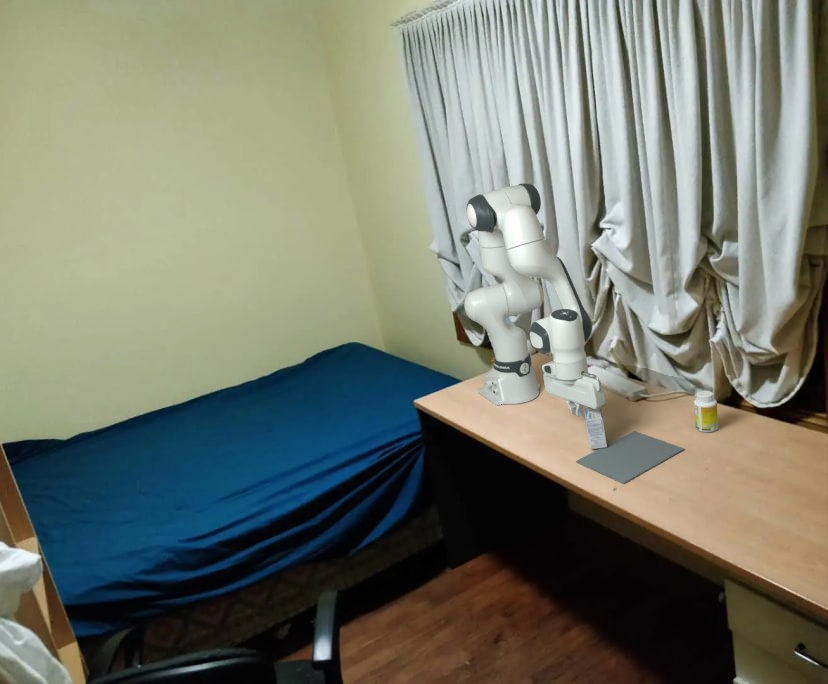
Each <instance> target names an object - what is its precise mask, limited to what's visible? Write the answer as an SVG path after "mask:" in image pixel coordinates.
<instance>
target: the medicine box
mask: <svg viewBox="0 0 828 684" xmlns="http://www.w3.org/2000/svg"><path fill="white" fill-rule="evenodd" d="M584 417H585V425H586V430H587V437H588V442H589V443H588V444H589V448H590V450H598V449H600V448H607V445H608V443H607V438H606V431H605V425H604V419H603V418H604V417H603V413H602V410H601V407H600V408H598V409H593V408H587V409H584Z"/></svg>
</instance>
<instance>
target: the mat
mask: <svg viewBox="0 0 828 684" xmlns="http://www.w3.org/2000/svg"><path fill="white" fill-rule="evenodd" d="M683 451H685V448H684V447H681V446H678V445H676V444H673V443H669V442H666V441H665V440H664V441H663V440H661V439H658V438H655V437H653V436H650V435H647V434H645V433H642V432H639V431H636V430H633V431H632V432H629V433H627V434H626V435H623V436H622V437H620V438H618V439H616V440H614V441H612V442H610V443H607V448H599V449H595V451H593V452H590V453H589V454H587V455H585V456H583V457H581V458H579V459H577V460H576V461H575V463H576V464H578V465H581V466H583V467H585V468H588V469H590V470H591V471H593V472H597V473H598V474H601V475H603V476H605V477H607V478H609V479H611V480H614V481H616V482H618V483H621V484H622V485H625V484H628V483H629V482H630V481H632V480H635V478H637V477H639V476H641V475H643V474H644V473H646V472H648V471H650V470H652V469H654V468H655V467H657V466H659V465H660V464H662V463H664V462H665V461H668V460H669V459H671V458H673V457H674V456H676V455H678V454H680V453H682V452H683Z"/></svg>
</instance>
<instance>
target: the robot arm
mask: <svg viewBox="0 0 828 684" xmlns="http://www.w3.org/2000/svg"><path fill="white" fill-rule="evenodd" d="M541 201H542V199H541V195H540V193H539V190H538V189H537V188H536V187H535V186H534V185H533V184H532V183H519V184H517V185H516V184H515V185H509V186H503V187H499V188H498V189H494V190H490V191H487V192H485V193H482V194H481V193H480V194H476V195H475V196H473V197H471V198H469V200H468V202H467V204H466V216H467V220H468V223H469V225H470V227H471V228H472V229H473V230H475V231H477V238H478V248H479V254H480V255H479V256H480V263H481V267H482V269H483V271H484V272H485V273H487V274H488V275H491V276H495V277H498V278H501V279H502V282H501V283H498V284H493V285H487V286H483V287H480V288H476V289H474V290H472V291H470V292H468V293H467V294H466V296H465V298H464V302H463V303H464V305H463V306H464V311H465V313H466V315H467V317H468V318H469V319H470V320H471V321H473V322H474V323H477V324H479V325H480V326H481V327H482V328H484V329H485V331H487V333H488V335H489V337H490V339H491V342H492V347H493V351H494V357H492V358H491V362H493V367H492V368H491V369H489V371H488V372H486V373H485V375H484V377H483V384H484V385H483V386H481V387H480V388H479V389H478V394H480V395H481V396H483V397H484V398H485V399H487V400H488V401H489V400H490V401H489V402H491V403H492V402H493V403H492V404H494V405H495V406H501V404H502V405H514V404H515V405H516V404H522V403H527V402H530V401H532V400H534V399H536V398H537V397H538V396H539V395H540V388H541V385H540V383H538V381H537V376H536V372H535V368H534V366H533V365H532V357H531V353H530V352H529V345H528V340H529V343H530V346H531V348H533V349H534V350H535V351H537V352H539V353H542V354H552V356H553V360H551V361H548V362H547V363H544V364H542V365H541V369H542V372H543V382H544V383H543V384H544V389H545V391H546V392H547V394H549V395H552V396H554V397H558V398H561V399H564V400H565V402H566V404H567V406H568V408H569V412H570V414H571V415H574V416H576V417H581V416H582V415H583V408H584V407H588V408H589V409H591V408H593V409H598V408H600V409H601V408H602V407H604V406H605V404H606V395H605V391H604V388H603V384H602V382H601V379H599V378H598V377H597V375H596V374H593V373H590V372H589V369H588V368H589V366H588V358H587V354H586V350H585V343H587V341H588V340H589V339H590V337H591V334H592V332H593V322H592V319H591V317H590V315H589V313H588V312H587V311H586V309H585V307H584V306H583V303H582V301H581V299H580V296H579V294H578V292H577V290H576V288H575V285H574V283H573V281H572V278H571V275H570V274H569V272H568V269H567V268H566V265H565V264H564V262H563V260H562V259H561V258H560V257H558V256H557V255H554V254H553V252H552V250H550V248H549V246H548V243H547V241H546V239H545V234H544V231H543V227H542V226H541V223H540V220H539V218H538V216H537V215H538V214H539V212H540V209H541V207H542V206H541V205H542V202H541ZM533 278H535V279H536V278H537V279H542V280H546V281H548V282H549V283H550V284H551V285H552V286H553V288H554V290H555V293H556V295H557V297H558V301H559V302H560V305H561V306H562V309H561V308H560V309H556V310H553V311H552V312H551V313H550V314H549V315H548V316H547V317H544V318H543V317H542V318H540V319H537V320H535V321H534V322H532V323H531V325H530V326H529V330H528V337H527V333H526V332H525V330H524V329H523V328H521V327H519V326H517V325H514V324H509V323H507V322H506V318H508V317H513V316H518V315H524V314H528V313H530V312H533V311H535V310H537V309H539V308H541V306H542V305H543V302H544V297H545V293H544V290H543V287H542V285H541V284H540V283H539V282H538V281H537V280H535V279H533ZM527 338H528V339H527Z"/></svg>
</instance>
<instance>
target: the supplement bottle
mask: <svg viewBox="0 0 828 684" xmlns="http://www.w3.org/2000/svg"><path fill="white" fill-rule="evenodd" d="M693 408H694V421H695V422H694V423H695V429H696V430H697V431H699V432H701V433H713V432H715V431H717V430H718V429H719V418H718V415H719V414H718V402H717V399H715V397H714V392H712V391H711V390H710V391H709V390H700V391H697V393H696V398H695V399H694V401H693Z"/></svg>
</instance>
